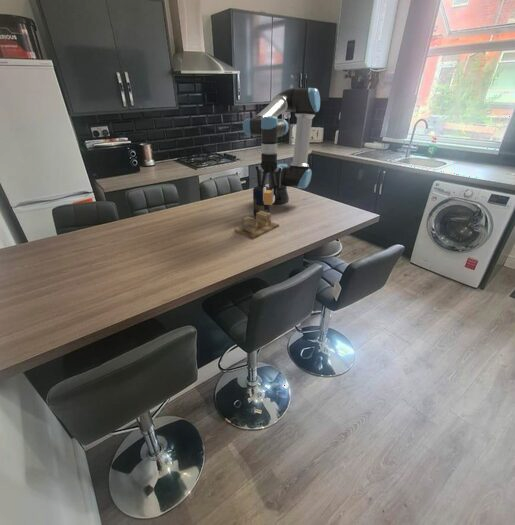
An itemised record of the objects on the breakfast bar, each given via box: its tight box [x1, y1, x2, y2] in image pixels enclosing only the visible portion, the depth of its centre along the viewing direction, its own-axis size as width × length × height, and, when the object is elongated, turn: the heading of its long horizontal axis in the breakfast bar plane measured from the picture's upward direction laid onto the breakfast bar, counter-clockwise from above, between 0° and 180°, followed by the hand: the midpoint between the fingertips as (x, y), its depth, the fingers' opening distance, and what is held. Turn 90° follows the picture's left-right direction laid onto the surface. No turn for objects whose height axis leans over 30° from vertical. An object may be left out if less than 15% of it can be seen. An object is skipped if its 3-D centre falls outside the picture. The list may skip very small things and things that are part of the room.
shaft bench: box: [234, 211, 280, 240], centre depth 154 cm, size 20×14×7 cm
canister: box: [252, 185, 271, 218], centre depth 167 cm, size 10×10×18 cm
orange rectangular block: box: [264, 190, 274, 206], centre depth 149 cm, size 5×4×6 cm
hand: (268, 200), depth 150 cm, fingers closed on orange rectangular block, 4 cm apart
